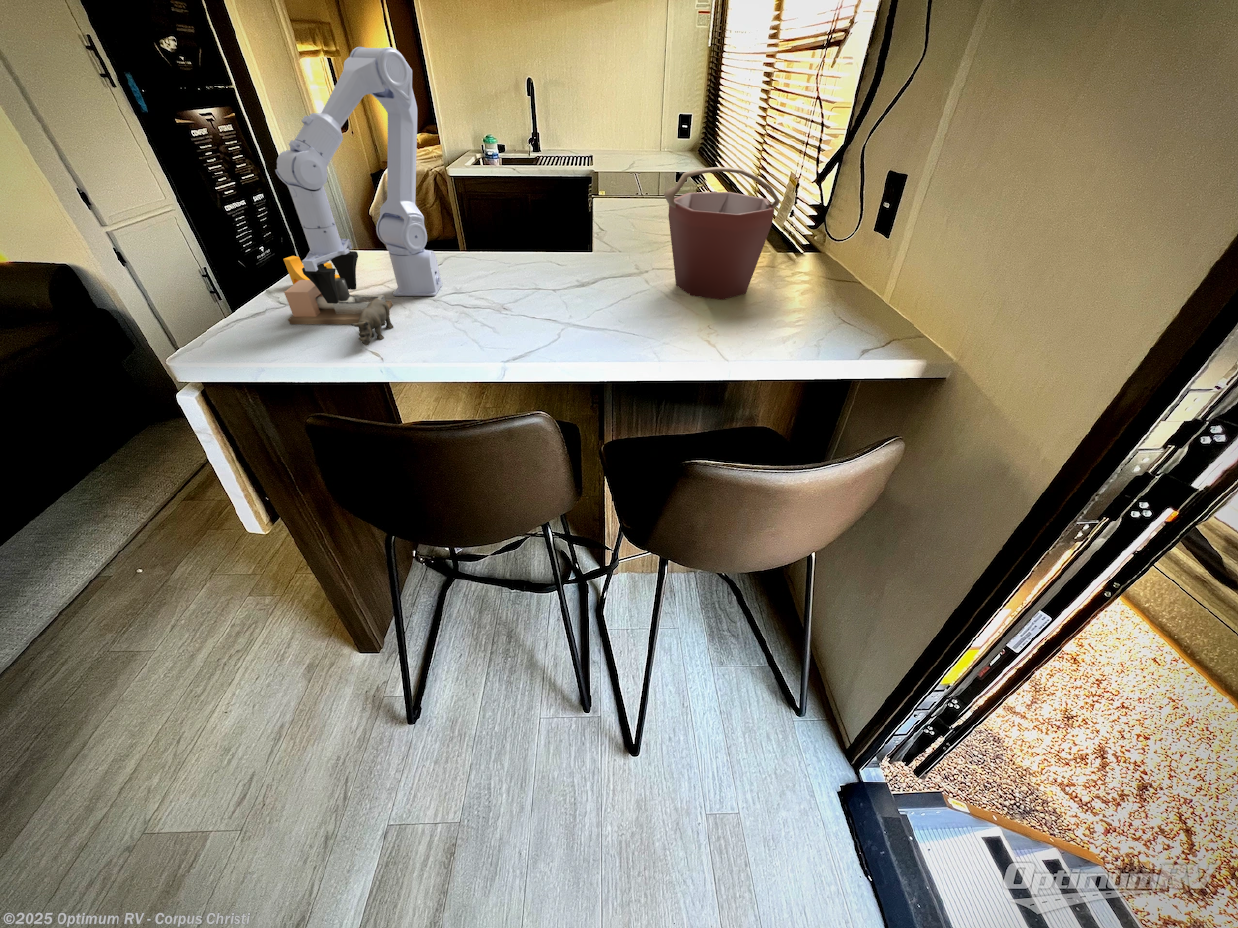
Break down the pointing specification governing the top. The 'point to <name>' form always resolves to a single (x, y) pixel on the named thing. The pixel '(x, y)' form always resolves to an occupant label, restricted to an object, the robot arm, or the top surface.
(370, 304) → the rhino figurine
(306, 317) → the board
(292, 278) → the orange piece
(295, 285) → the socket
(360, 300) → the channel
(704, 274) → the bucket
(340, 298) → the bolt
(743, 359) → the top surface
